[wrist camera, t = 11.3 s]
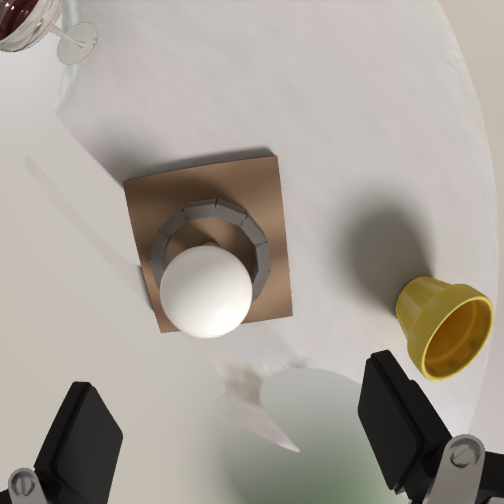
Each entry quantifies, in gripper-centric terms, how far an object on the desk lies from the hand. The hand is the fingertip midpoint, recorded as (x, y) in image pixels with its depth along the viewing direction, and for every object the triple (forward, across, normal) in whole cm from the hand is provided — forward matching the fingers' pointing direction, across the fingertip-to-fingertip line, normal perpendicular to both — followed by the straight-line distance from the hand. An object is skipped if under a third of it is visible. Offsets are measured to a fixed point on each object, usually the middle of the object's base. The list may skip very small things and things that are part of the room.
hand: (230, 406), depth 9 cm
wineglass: (+21, +13, -22) cm, 33 cm away
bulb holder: (+21, +2, +2) cm, 21 cm away
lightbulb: (+20, +2, +2) cm, 20 cm away
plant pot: (+21, -21, +11) cm, 32 cm away
